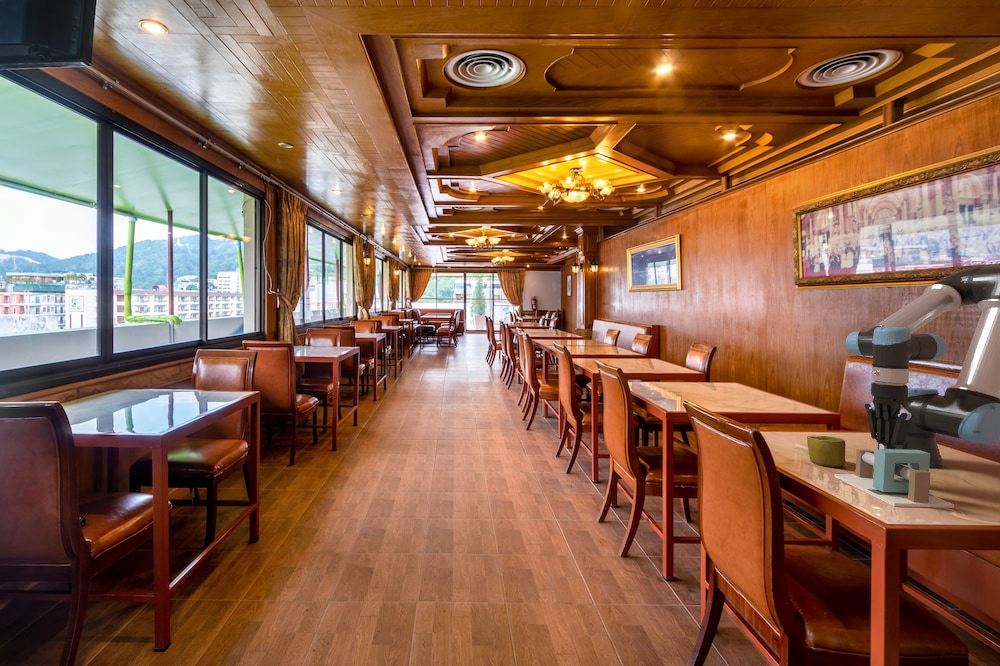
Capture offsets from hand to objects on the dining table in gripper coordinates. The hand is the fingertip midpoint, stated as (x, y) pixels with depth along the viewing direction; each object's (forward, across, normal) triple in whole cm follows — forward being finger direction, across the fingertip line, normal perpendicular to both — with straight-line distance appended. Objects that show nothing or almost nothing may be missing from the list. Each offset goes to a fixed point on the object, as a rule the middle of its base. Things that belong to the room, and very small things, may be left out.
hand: (885, 467), depth 119 cm
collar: (+2, +10, -5) cm, 11 cm away
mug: (+4, -16, -6) cm, 17 cm away
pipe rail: (+4, +7, -5) cm, 9 cm away
